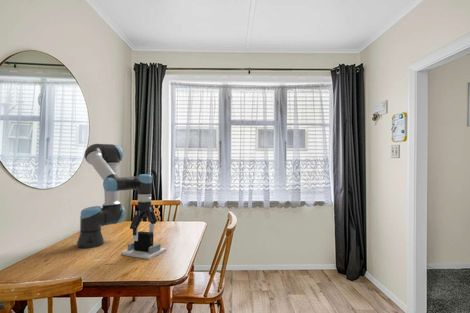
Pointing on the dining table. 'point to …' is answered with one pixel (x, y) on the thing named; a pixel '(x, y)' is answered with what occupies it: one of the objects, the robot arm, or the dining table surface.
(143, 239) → the electronic device
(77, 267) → the dining table surface
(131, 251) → the mounting board
